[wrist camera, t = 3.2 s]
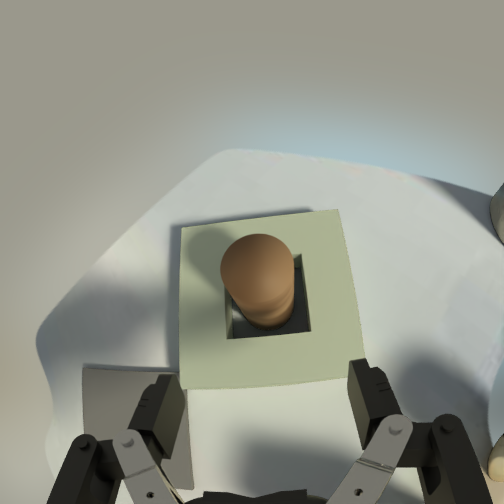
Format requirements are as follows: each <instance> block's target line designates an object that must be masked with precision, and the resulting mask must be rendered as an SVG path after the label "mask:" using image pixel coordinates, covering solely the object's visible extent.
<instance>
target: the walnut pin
mask: <svg viewBox="0 0 504 504" xmlns="http://www.w3.org/2000/svg"><path fill="white" fill-rule="evenodd" d="M220 273H221V278H222V281H223V284H224V285H225V287H226V289H227V290H228V292H229V293H230V295H231V296H232V298H233V299H234V301H235V302H236V304H237V305H238V307H239V308H240V310H241V311H242V313H243V314H244V316H245V317H246V319H247V320H248V321H249V323H250V324H252V325H253V326H254V327H256V328H258V329H261V330H274V329H278V328H280V327H282V326H283V325H284V324H286V323H287V322H288V320H289V319H290V317H291V316H292V313H293V309H294V261H293V257H292V254H291V252H290V250H289V249H288V247H287V246H286V245H285V244H284V243H283V242H282V241H281V240H279V239H278V238H276V237H274V236H271V235H268V234H259V233H258V234H250V235H246V236H244V237H241V238H240V239H238V240H236V241H235V242H234V243H232V244H231V245H230V246H229V248H228V249H227V250H226V252H225V253H224V255H223V257H222V261H221V265H220Z"/></svg>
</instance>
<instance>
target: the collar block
mask: <svg viewBox="0 0 504 504" xmlns="http://www.w3.org/2000/svg"><path fill="white" fill-rule="evenodd" d="M258 233H259V234H268V235H271V236H274V237H276V238H278V239H279V240H281V241H282V242H283V243H284V244H285V245H286V246H287V247H288V249H289V250H290V252H291V254H292V257H293V261H294V268H299V267H301V273H302V280H303V288H304V296H305V304H306V313H307V321H308V330H309V332H303V333H294V334H285V335H275V336H265V337H253V338H240V339H233V323H232V302H231V295H230V293H229V292H228V290H227V289H226V287H225V285H224V284H223V281H222V278H221V273H220V265H221V261H222V257H223V255H224V253H225V252H226V250H227V249H228V248H229V246H230V245H231V244H232V243H234V242H235V241H236V240H238V239H240V238H241V237H244V236H246V235H250V234H258ZM362 358H365V352H364V345H363V337H362V330H361V324H360V317H359V311H358V305H357V299H356V293H355V288H354V282H353V277H352V272H351V266H350V261H349V256H348V252H347V247H346V242H345V238H344V233H343V229H342V224H341V220H340V216H339V212H338V209H335V210H325V211H316V212H306V213H297V214H288V215H279V216H270V217H262V218H253V219H245V220H237V221H229V222H221V223H213V224H206V225H198V226H191V227H184V228H182V229H181V250H180V280H179V367H180V386H181V388H182V389H235V388H254V387H268V386H280V385H291V384H300V383H309V382H317V381H324V380H331V379H338V378H345V377H348V368H349V361H350V360H356V359H362Z"/></svg>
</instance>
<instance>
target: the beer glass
mask: <svg viewBox="0 0 504 504" xmlns="http://www.w3.org/2000/svg"><path fill="white" fill-rule="evenodd" d="M488 473H489V476H490V478H491V479H492V480H494V481H496V482H504V434H503V435H502V436H501V437H500V438H499V439H498V441H497V443H496V444H495V446H494V447H493V450H492V452H491V454H490V457H489V462H488Z"/></svg>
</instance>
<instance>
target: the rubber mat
mask: <svg viewBox="0 0 504 504" xmlns="http://www.w3.org/2000/svg"><path fill="white" fill-rule="evenodd" d="M159 374H175V375H176V376H177V378H178V381H179V383H180V372H140V371H119V370H104V369H91V368H83V419H84V434H90V435H92V436H94V437H95V438H96V440H97V441H101V440H110V439H114V437H115V436H116V434H118V433H119V432H121V431H123V430H127V428H128V426H129V423H130V421H131V419H132V416H133V414H134V412H135V409H136V407H137V405H138V402H139V400H140V398H141V395H142V393H143V391H144V390H145V389H146V388H147V387H148V386H149V385H150V384H155V383H156V380H157V378H158V376H159ZM182 391H183V393H184V396H185V409H184V413H183V416H182V420H181V423H180V427H179V431H178V434H177V438H176V441H175V445H174V449H173V453H172V456H171V460H170V459H162V462H161V466H162V467H163V469H164V471H165V473H166V474H167V476H168V478H169V479H170V481H171V483H172V484H173V486H174V488H176V489H185V490H193V489H194V482H193V472H192V461H191V449H190V436H189V421H188V403H187V389H182ZM123 480H124V479H123Z"/></svg>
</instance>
